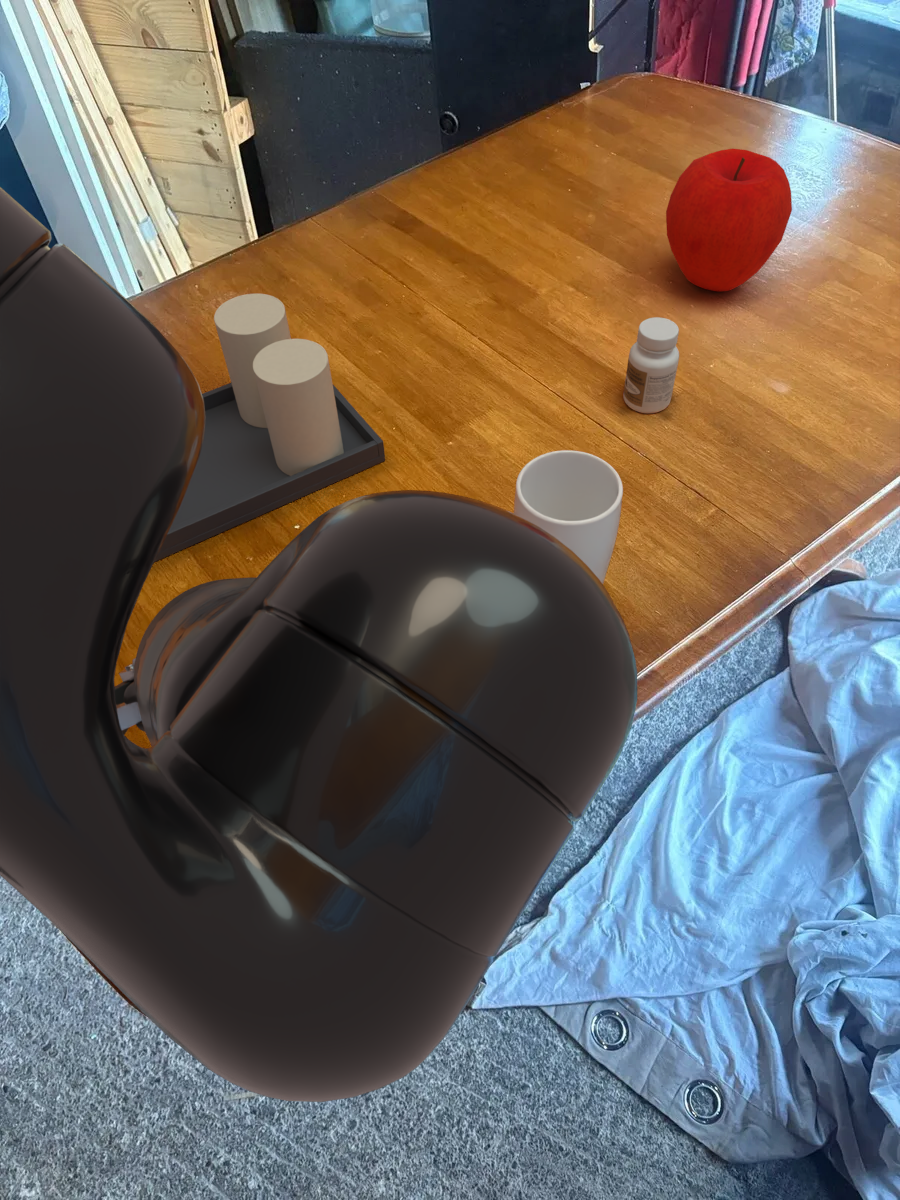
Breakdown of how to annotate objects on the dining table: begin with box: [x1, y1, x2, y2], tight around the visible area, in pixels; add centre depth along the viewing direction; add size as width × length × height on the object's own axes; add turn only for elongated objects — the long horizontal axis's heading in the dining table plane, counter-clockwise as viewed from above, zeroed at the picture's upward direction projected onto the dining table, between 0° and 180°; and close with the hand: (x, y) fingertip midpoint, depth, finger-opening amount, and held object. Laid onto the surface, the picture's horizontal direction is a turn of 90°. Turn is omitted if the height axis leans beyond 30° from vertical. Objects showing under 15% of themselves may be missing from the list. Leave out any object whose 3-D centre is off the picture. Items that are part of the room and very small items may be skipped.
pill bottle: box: [622, 316, 680, 414], centre depth 80 cm, size 4×4×8 cm
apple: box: [665, 148, 793, 292], centre depth 89 cm, size 12×12×13 cm
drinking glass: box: [513, 449, 624, 585], centre depth 61 cm, size 7×7×15 cm
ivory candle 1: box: [213, 293, 292, 428], centre depth 79 cm, size 6×6×10 cm
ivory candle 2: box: [253, 338, 344, 476], centre depth 75 cm, size 6×6×10 cm
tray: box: [154, 382, 386, 563], centre depth 78 cm, size 25×15×2 cm, turn 122°
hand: (203, 651), depth 47 cm, fingers closed on candle, 5 cm apart
